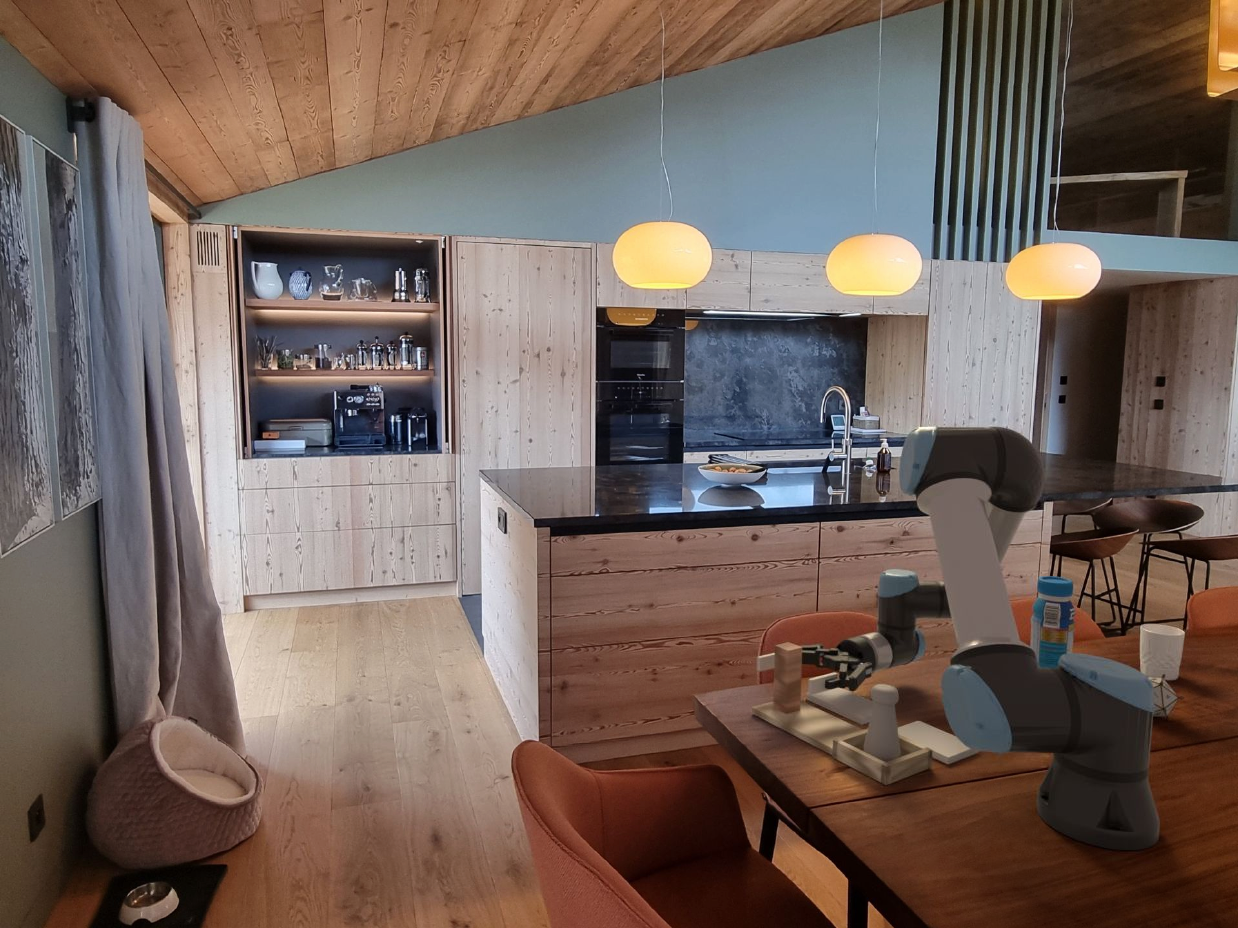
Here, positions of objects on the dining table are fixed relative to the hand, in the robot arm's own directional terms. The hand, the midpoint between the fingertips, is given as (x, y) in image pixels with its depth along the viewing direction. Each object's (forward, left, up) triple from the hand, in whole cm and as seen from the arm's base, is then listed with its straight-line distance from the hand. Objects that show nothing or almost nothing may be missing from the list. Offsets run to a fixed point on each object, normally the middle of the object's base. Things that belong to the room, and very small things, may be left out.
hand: (783, 675), depth 152 cm
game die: (-36, -59, -8) cm, 70 cm away
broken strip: (-12, -14, -8) cm, 20 cm away
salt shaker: (-22, -1, -8) cm, 24 cm away
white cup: (-26, -84, -8) cm, 88 cm away
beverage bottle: (-12, -67, -8) cm, 68 cm away
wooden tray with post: (-12, -1, -8) cm, 15 cm away
